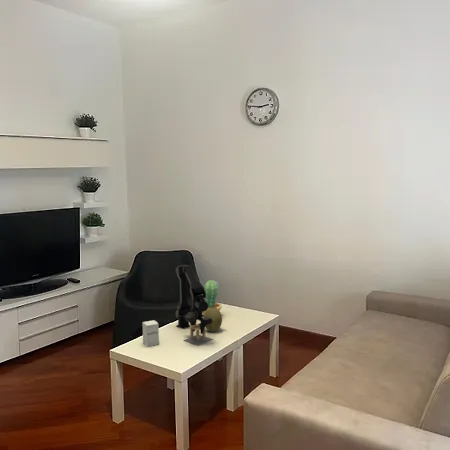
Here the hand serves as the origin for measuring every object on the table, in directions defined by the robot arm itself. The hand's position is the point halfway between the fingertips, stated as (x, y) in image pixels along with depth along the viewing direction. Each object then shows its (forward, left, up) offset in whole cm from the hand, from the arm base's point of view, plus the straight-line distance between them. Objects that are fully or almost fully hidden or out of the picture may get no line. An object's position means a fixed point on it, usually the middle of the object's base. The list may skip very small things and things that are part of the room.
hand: (197, 332), depth 275 cm
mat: (0, 0, -5) cm, 5 cm away
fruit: (-4, +17, -5) cm, 18 cm away
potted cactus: (-23, +35, -5) cm, 42 cm away
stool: (0, 0, -3) cm, 3 cm away
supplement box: (-17, -21, -5) cm, 27 cm away
